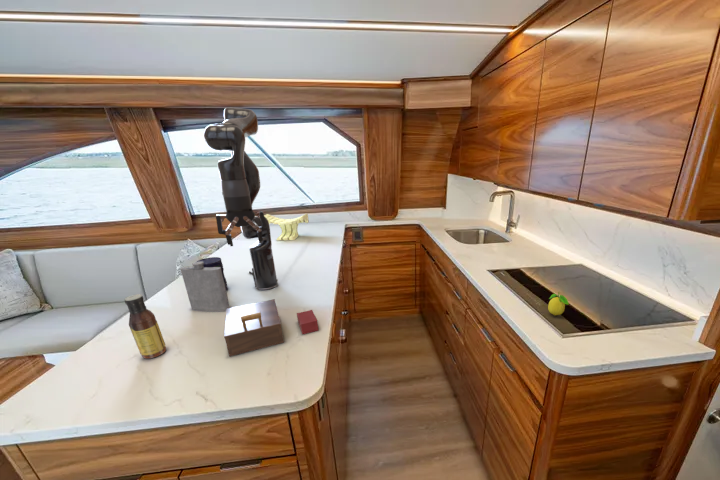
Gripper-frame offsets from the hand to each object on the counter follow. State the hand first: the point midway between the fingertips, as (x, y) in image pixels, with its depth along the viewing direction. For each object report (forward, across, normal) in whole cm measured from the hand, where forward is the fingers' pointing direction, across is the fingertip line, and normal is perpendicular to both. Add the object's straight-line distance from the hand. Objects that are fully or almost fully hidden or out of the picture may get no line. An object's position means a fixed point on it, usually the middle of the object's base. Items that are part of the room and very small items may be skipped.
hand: (246, 244), depth 100 cm
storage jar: (+30, +17, -40) cm, 53 cm away
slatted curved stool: (+30, -26, -130) cm, 136 cm away
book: (+30, -15, +11) cm, 35 cm away
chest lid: (+23, +2, +9) cm, 25 cm away
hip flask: (+30, +18, -21) cm, 41 cm away
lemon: (+30, -99, +48) cm, 114 cm away
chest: (+30, +2, +8) cm, 31 cm away
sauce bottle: (+30, +31, +5) cm, 44 cm away
